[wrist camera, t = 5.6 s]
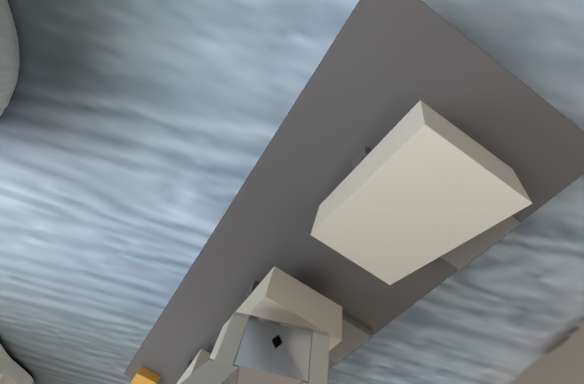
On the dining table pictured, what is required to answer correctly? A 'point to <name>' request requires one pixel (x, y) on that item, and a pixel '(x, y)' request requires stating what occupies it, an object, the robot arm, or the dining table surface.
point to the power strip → (343, 160)
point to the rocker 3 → (417, 197)
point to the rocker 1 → (196, 364)
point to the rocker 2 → (291, 306)
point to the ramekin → (8, 55)
